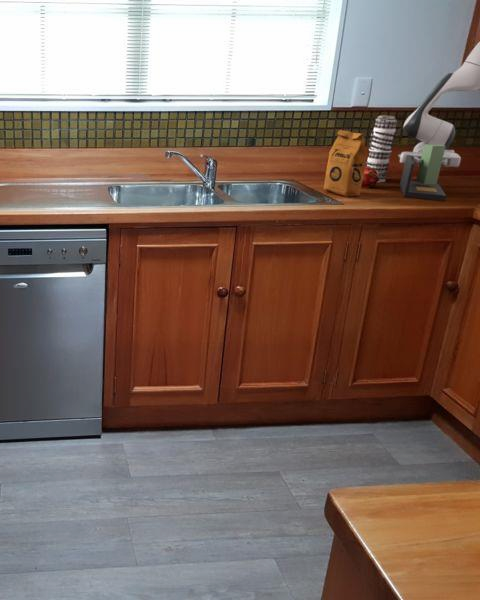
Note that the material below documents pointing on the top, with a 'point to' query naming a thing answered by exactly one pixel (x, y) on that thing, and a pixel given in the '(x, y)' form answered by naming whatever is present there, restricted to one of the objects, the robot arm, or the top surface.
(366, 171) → the dragon fruit
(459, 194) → the top surface
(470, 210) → the top surface
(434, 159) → the carton
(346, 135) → the coffee package
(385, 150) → the decorative candle
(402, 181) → the grey l-shaped bracket
